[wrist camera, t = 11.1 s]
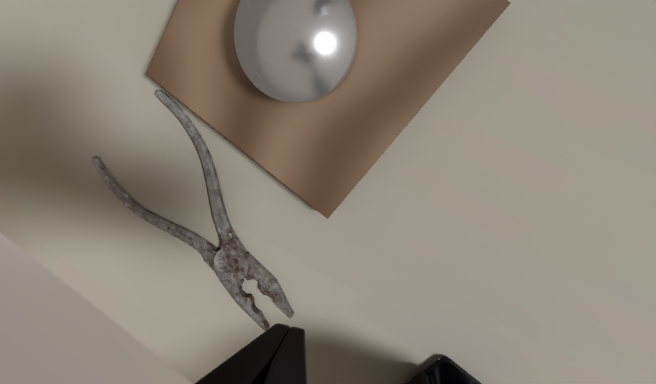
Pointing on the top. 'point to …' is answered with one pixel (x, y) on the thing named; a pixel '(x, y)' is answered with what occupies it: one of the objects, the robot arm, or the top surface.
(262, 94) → the dial plate
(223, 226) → the pliers
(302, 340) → the robot arm
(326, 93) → the crank handle
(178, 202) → the top surface
